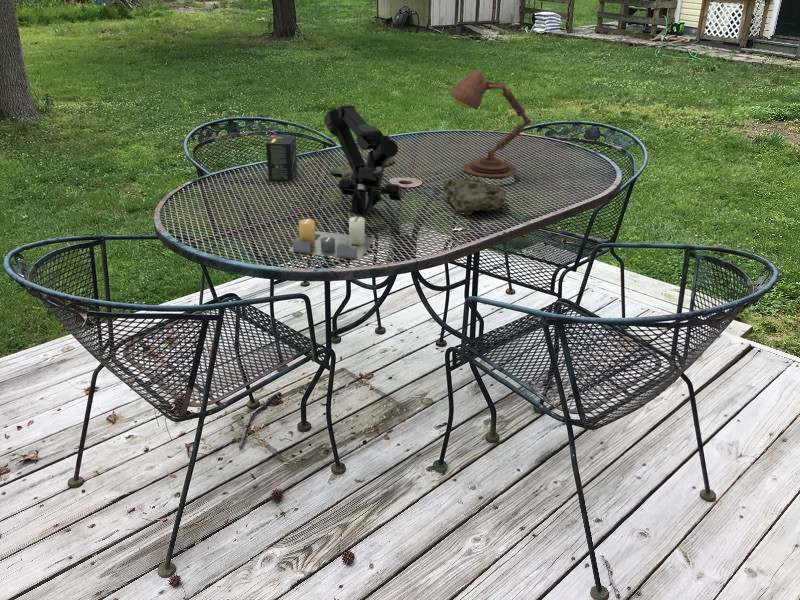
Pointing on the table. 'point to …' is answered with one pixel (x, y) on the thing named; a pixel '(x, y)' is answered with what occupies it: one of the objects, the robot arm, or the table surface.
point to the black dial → (327, 244)
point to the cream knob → (356, 230)
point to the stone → (473, 195)
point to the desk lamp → (471, 96)
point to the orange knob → (307, 230)
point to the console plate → (341, 246)
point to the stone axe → (348, 170)
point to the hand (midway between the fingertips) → (364, 215)
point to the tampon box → (281, 158)
